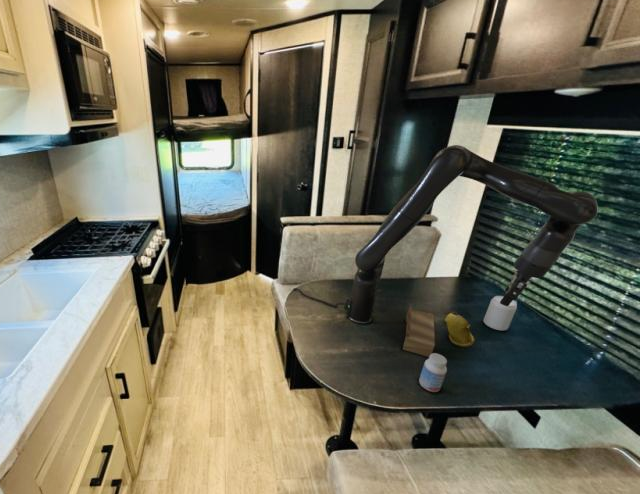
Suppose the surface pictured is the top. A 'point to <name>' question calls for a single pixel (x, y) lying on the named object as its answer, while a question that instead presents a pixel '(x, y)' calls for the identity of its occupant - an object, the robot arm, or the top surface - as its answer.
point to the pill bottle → (433, 372)
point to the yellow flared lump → (459, 330)
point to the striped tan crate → (419, 332)
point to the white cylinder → (499, 314)
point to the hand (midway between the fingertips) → (506, 298)
